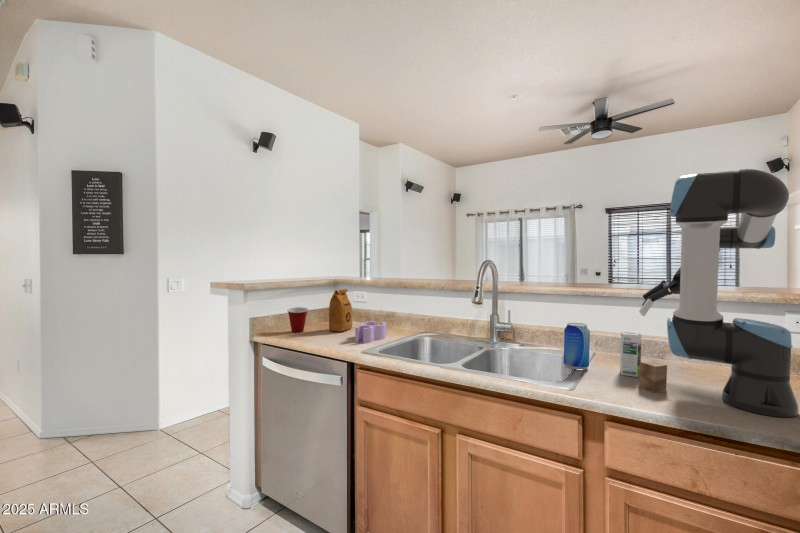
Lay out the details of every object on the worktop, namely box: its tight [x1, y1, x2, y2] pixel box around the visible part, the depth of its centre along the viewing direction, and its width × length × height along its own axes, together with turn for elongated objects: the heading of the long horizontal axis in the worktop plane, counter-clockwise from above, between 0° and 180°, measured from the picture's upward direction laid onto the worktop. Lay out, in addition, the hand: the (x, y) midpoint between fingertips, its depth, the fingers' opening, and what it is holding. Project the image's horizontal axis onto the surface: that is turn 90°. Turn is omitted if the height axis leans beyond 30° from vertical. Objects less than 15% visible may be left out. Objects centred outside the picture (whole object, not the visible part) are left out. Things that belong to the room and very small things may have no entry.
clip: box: [354, 320, 388, 344], centre depth 181 cm, size 20×12×7 cm, turn 156°
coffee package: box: [328, 288, 353, 333], centre depth 199 cm, size 10×12×22 cm
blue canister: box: [563, 322, 591, 371], centre depth 137 cm, size 8×8×16 cm
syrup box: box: [619, 330, 642, 378], centre depth 130 cm, size 6×6×14 cm
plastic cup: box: [286, 306, 309, 334], centre depth 195 cm, size 11×11×12 cm
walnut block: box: [638, 360, 668, 394], centre depth 116 cm, size 5×5×8 cm
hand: (659, 316), depth 135 cm, fingers open, 13 cm apart
